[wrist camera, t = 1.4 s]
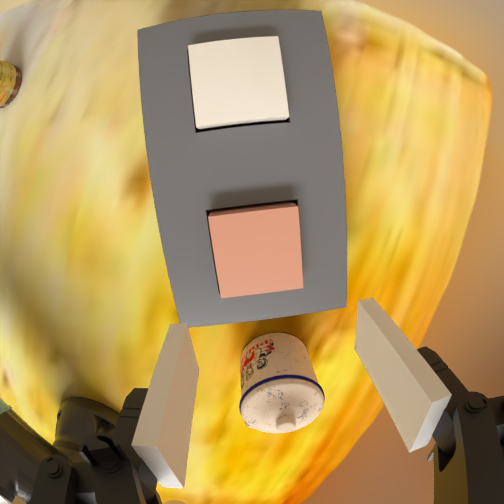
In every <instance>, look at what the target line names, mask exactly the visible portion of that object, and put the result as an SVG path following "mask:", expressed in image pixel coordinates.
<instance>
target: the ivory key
mask: <svg viewBox="0 0 504 504" xmlns="http://www.w3.org/2000/svg"><path fill="white" fill-rule="evenodd" d="M188 51H189V63H190V73H191V83H192V93H193V103H194V112H195V121H196V127H197V128H198V129H200V130H201V131H208V130H215V129H222V128H230V127H239V126H248V125H258V124H269V123H282V122H283V121H284V120H286V119H287V118H288V117H289V110H288V102H287V94H286V86H285V79H284V72H283V65H282V58H281V51H280V45H279V38H278V36H269V37H252V38H239V39H230V40H221V41H213V42H206V43H200V44H194V45H188Z"/></svg>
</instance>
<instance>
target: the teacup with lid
mask: <svg viewBox="0 0 504 504" xmlns="http://www.w3.org/2000/svg"><path fill="white" fill-rule="evenodd" d="M240 367H241V400H240V406H239V408H240V413H241V415H242V417H243V419H244V420H245V424H246V426H247V427H250V428H255V429H257V430H259V431H263V432H268V433H285V432H291V431H294V430H297V429H300V428H302V427H304V426H306V425H308V424H309V423H311V422H312V421H313V420H314V419H315V418H316V417H317V416H318V415H319V414H320V412H321V410H322V408H323V405H324V392H323V389H322V388H321V386H320V385H319V384H318V381H317V378H316V375H315V372H314V369H313V366H312V363H311V360H310V358H309V355H308V352H307V349H306V347H305V345H304V344H303V342H302V341H301V340H299V339H298V338H296V337H295V336H293V335H290V334H286V333H269V334H265V335H262V336H259V337H257V338H255V339H254V340H252V341H251V342H250V343H249V344H248V345H247V346H246V347H245V349H244V350H243V352H242V355H241V359H240Z"/></svg>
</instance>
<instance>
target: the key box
mask: <svg viewBox="0 0 504 504" xmlns="http://www.w3.org/2000/svg"><path fill="white" fill-rule="evenodd" d="M269 36H278V38H279V45H280V51H281V58H282V65H283V72H284V79H285V86H286V94H287V102H288V110H289V117H288V118H287V119H286V120H284V121H283V122H282V123H269V124H258V125H248V126H239V127H230V128H222V129H215V130H208V131H201V130H200V129H198V128H197V127H196V121H195V112H194V103H193V93H192V83H191V73H190V63H189V51H188V45H194V44H200V43H206V42H213V41H221V40H230V39H239V38H252V37H269ZM138 59H139V77H140V91H141V103H142V114H143V123H144V133H145V141H146V149H147V157H148V164H149V171H150V178H151V185H152V191H153V197H154V203H155V209H156V215H157V221H158V226H159V231H160V236H161V242H162V247H163V252H164V256H165V261H166V266H167V270H168V275H169V279H170V284H171V288H172V292H173V297H174V301H175V305H176V309H177V313H178V317H179V321H180V323H187V326H188V327H200V326H211V325H221V324H230V323H239V322H248V321H257V320H265V319H272V318H280V317H287V316H294V315H301V314H308V313H314V312H321V311H327V310H333V309H339V308H345V307H346V299H347V221H346V196H345V179H344V164H343V152H342V141H341V131H340V122H339V113H338V105H337V97H336V90H335V83H334V76H333V70H332V64H331V58H330V52H329V47H328V42H327V36H326V31H325V26H324V22H323V17H322V12H321V11H314V10H258V11H243V12H231V13H222V14H214V15H207V16H200V17H194V18H188V19H183V20H177V21H173V22H168V23H163V24H159V25H155V26H151V27H147V28H143V29H139V30H138ZM287 200H291V201H292V202H294V203H295V204H296V205H297V206H298V211H299V224H300V239H301V254H302V272H303V288H300V289H293V290H285V291H278V292H270V293H262V294H254V295H246V296H237V297H228V298H221V295H220V289H219V283H218V277H217V271H216V265H215V259H214V252H213V246H212V240H211V233H210V227H209V220H208V216H209V214H210V212H211V210H212V209H218V208H226V207H234V206H242V205H251V204H259V203H268V202H277V201H287Z"/></svg>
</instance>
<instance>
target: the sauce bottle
mask: <svg viewBox="0 0 504 504" xmlns="http://www.w3.org/2000/svg"><path fill="white" fill-rule="evenodd" d="M20 81H21V75H20V71H19V68H18V67H16V66H13V65H12V64H10V63H7V62H4V61H1V60H0V108H4V107H5V106H7V105H8V104H9V103H10V102H11V101H12V100H13V99H14V98H15V96H16V95H17V91H18V89H19V86H20Z"/></svg>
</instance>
